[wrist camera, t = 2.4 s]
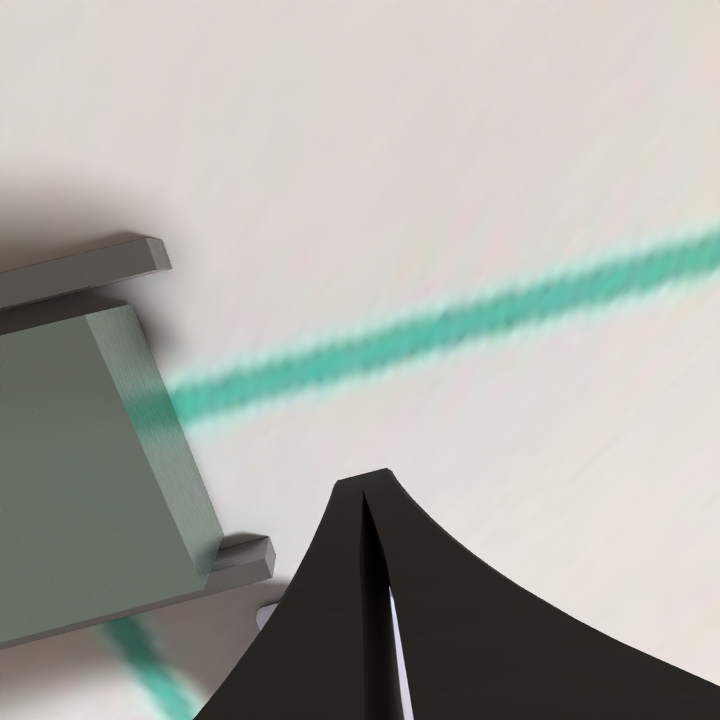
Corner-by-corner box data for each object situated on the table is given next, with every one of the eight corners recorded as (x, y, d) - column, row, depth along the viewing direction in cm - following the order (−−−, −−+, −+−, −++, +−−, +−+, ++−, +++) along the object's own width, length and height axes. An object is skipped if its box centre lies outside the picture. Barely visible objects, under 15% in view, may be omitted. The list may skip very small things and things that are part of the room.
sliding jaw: (224, 535, 19) (204, 588, 16) (38, 583, 19) (-19, 647, 16) (131, 303, 16) (84, 314, 13) (-92, 358, 16) (-195, 383, 13)
